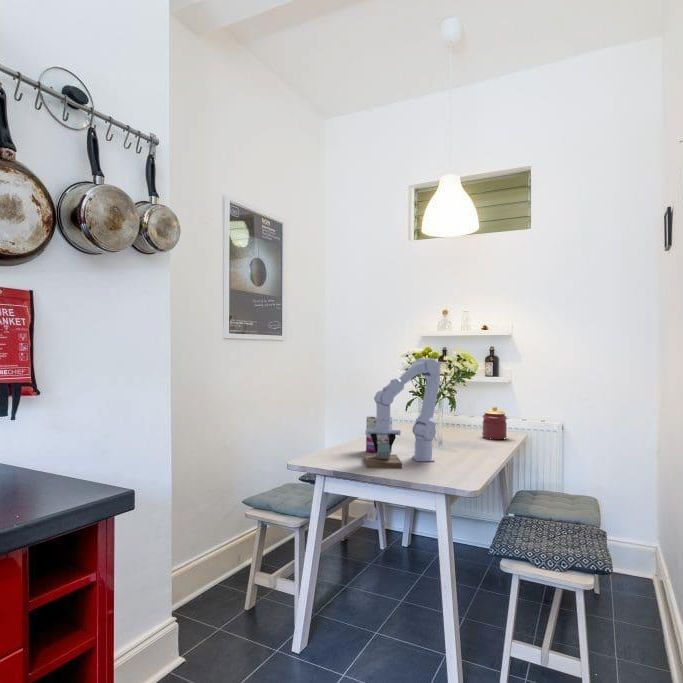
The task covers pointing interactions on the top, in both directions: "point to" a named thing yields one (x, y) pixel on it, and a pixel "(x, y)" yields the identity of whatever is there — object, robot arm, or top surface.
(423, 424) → the robot arm
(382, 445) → the housing
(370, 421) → the candy bar box
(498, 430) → the canister
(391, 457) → the stand
